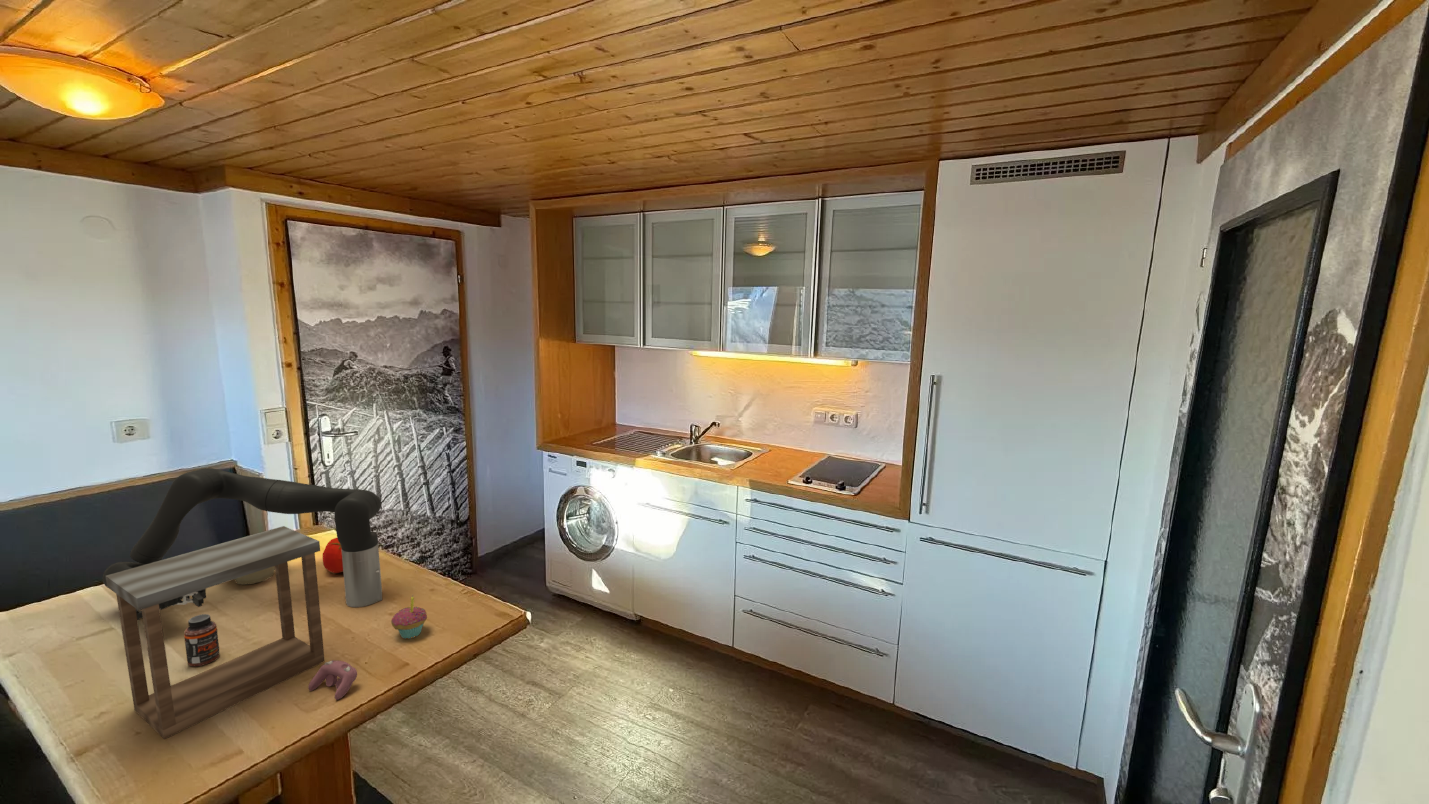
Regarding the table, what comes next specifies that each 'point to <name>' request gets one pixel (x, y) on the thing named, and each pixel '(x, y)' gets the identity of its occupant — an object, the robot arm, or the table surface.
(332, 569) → the tomato
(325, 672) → the video game controller
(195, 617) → the supplement bottle
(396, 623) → the cupcake
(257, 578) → the planter bowl
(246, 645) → the table surface
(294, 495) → the robot arm
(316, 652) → the under-counter shelf
